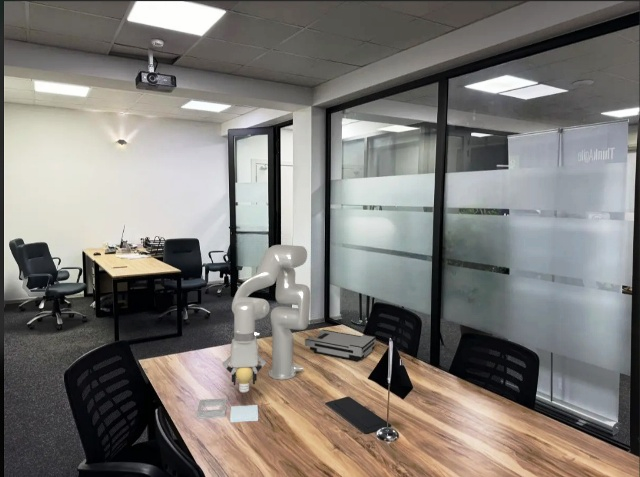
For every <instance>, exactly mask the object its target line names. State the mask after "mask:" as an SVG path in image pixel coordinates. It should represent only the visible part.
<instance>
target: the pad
mask: <svg viewBox="0 0 640 477" xmlns="http://www.w3.org/2000/svg"><path fill="white" fill-rule="evenodd" d="M257 421H259V409H258V404H250V405H249V404H248V405H235V406H234V405H233V406H230V418H229V423H242V422H257Z"/></svg>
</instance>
